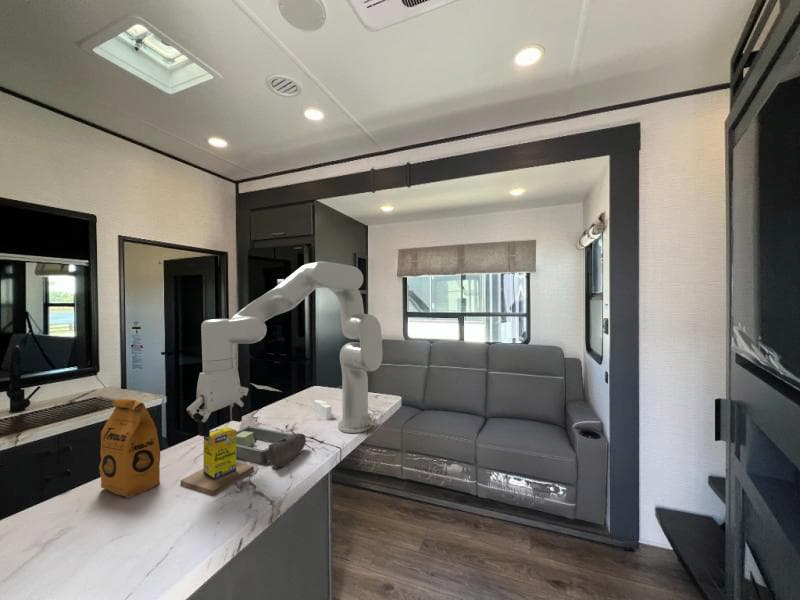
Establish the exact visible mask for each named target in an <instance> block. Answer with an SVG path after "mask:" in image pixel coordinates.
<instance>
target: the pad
mask: <svg viewBox="0 0 800 600" xmlns="http://www.w3.org/2000/svg"><path fill="white" fill-rule="evenodd" d="M254 467H255V466H253V465H251V464H246V463H241V462H239V461H236V471H234V472H231V473H229V474H226V475H224V476H222V477H220V478H217V479H216V480H213V479H211V478H210V477H208V476H207V475H205V474H204V473H203V468H202V469H200V470H198V471H195V472H194V473H192V474H190V475H188V476H186V477H185V478H182V479H181V480H180V486H183V487H185V488H189V489H192V490H195V491H198V492H200V493H203V494H207V495H211V496H213V497H214V496H215V495H217V494H219V493H220V492H222V491H224V490H225V489H226V488H228V487H229V486H232V485H233V484H234V483H236V482H238V481H239V480H241V479H242V478H244V477H246V476H247V475H249V474H251V473H252V472H254V470H255V469H254Z"/></svg>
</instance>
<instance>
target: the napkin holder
mask: <svg viewBox="0 0 800 600" xmlns="http://www.w3.org/2000/svg"><path fill="white" fill-rule="evenodd" d="M314 412H315V414H317V415H319V417H320V418H321V417H322V418H321V419H323V418H324V420H325V421H326V420H327V419H328V420H331V419H332V405H329V404H328V402H325V401H323V400H321V399H316V400H313V413H314ZM330 418H331V419H330Z"/></svg>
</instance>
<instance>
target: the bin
mask: <svg viewBox="0 0 800 600" xmlns="http://www.w3.org/2000/svg"><path fill="white" fill-rule="evenodd" d="M242 431H246V432H253V439H254V438H255V440H259V439H260V441H264V440H265V442H269V441H270V442H269V443H272V444H273V443H274V442H276V441H277V440H280V439H282V438H285V437H287V436H290V435H293V434H294V433H289V432H283V431H279V430H272V429H268V428H262V427H257V426H253V425H247V426H245V427H243V428H241V429H238V430H236V435H237V434H239V433H241V432H242ZM236 459H240V460H243V459H244V460H243V461H247V462H253V463H256V464H261V465H265V464H266V463H269V462H271V459H270V458H269V446H268V447H267V448H264V449H260V448H256V447H251V446H250V447H247V446H243V445H238V444H236Z"/></svg>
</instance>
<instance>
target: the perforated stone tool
mask: <svg viewBox="0 0 800 600" xmlns="http://www.w3.org/2000/svg"><path fill="white" fill-rule="evenodd" d="M292 434H293V435H290V436H287V437H285V438H282V439H280V440H277V441H276V442H274V443H273V442H272V443H271V444H269V446H268V447H269V458H270V459H271V460H270V466H272V467H274V468H275V469H278V468H280V467H283V466H286V464H287V463H289V462H291V461H292V460H293V459H295V458H296V457H297V456H298V455H299V454H300V453H301V452H302V451H303V449H304V448H305V445H306V441H307V439H306V438H307V437H306V436H305V434H303V433H292Z"/></svg>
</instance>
